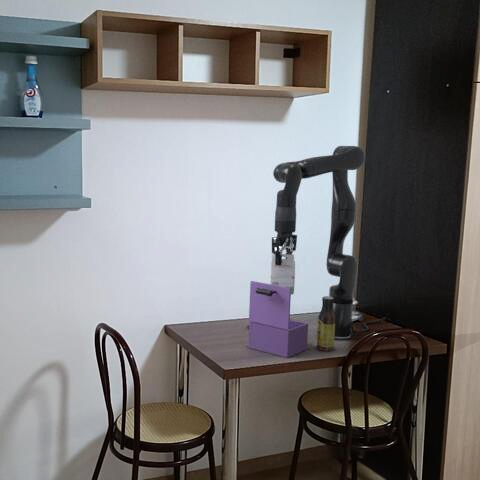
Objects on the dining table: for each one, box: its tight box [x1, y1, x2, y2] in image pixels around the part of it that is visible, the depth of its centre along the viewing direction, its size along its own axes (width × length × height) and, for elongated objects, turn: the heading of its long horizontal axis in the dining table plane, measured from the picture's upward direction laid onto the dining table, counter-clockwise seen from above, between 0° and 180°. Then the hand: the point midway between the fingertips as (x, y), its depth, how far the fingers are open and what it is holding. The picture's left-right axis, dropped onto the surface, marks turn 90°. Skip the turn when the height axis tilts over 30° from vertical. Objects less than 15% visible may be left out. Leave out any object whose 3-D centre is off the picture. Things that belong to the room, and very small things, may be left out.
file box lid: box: [248, 280, 292, 330], centre depth 230 cm, size 15×17×5 cm
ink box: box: [269, 253, 296, 295], centre depth 236 cm, size 9×5×15 cm, turn 74°
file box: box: [247, 319, 309, 358], centre depth 239 cm, size 14×17×10 cm
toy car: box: [352, 297, 364, 322], centre depth 281 cm, size 18×10×12 cm
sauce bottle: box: [316, 295, 335, 352], centre depth 238 cm, size 6×6×20 cm
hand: (283, 263), depth 236 cm, fingers closed on ink box, 6 cm apart
